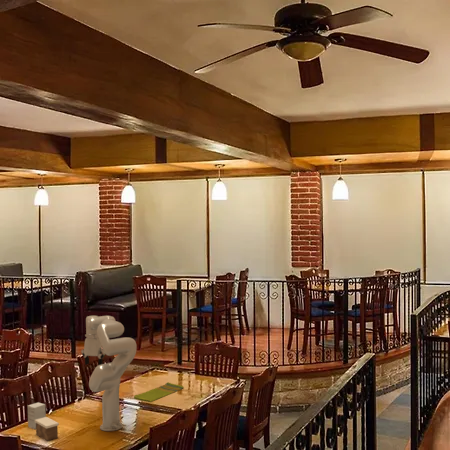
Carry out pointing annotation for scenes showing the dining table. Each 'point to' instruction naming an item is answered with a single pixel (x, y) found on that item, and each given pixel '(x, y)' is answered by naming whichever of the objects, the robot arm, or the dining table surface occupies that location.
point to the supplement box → (35, 413)
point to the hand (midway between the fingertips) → (93, 364)
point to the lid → (46, 422)
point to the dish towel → (158, 392)
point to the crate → (47, 432)
